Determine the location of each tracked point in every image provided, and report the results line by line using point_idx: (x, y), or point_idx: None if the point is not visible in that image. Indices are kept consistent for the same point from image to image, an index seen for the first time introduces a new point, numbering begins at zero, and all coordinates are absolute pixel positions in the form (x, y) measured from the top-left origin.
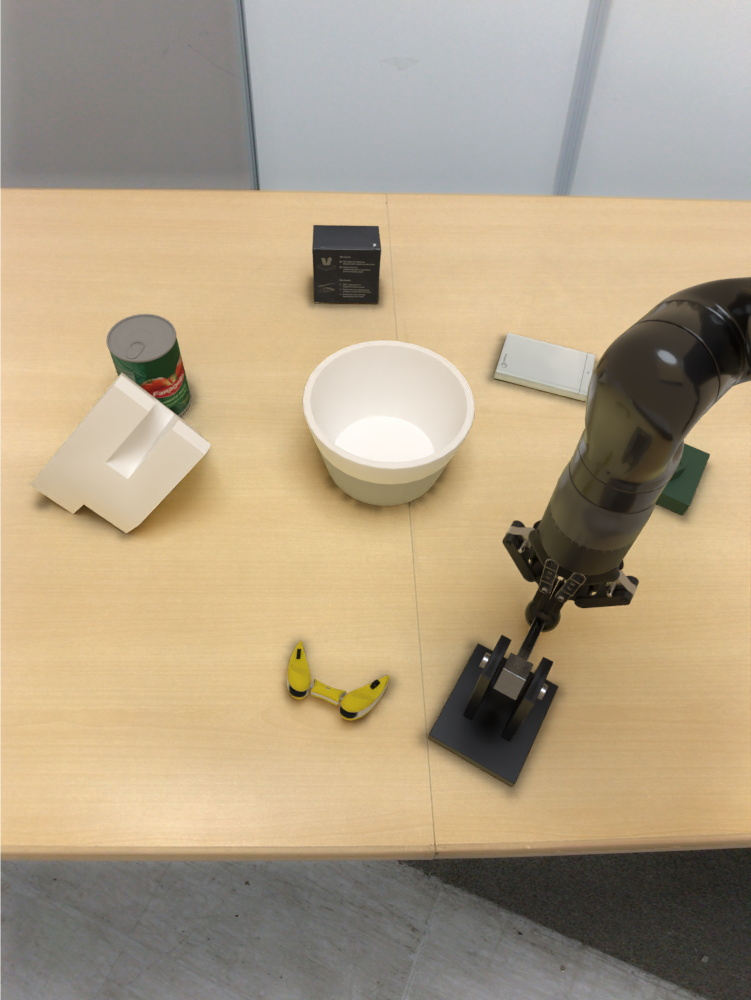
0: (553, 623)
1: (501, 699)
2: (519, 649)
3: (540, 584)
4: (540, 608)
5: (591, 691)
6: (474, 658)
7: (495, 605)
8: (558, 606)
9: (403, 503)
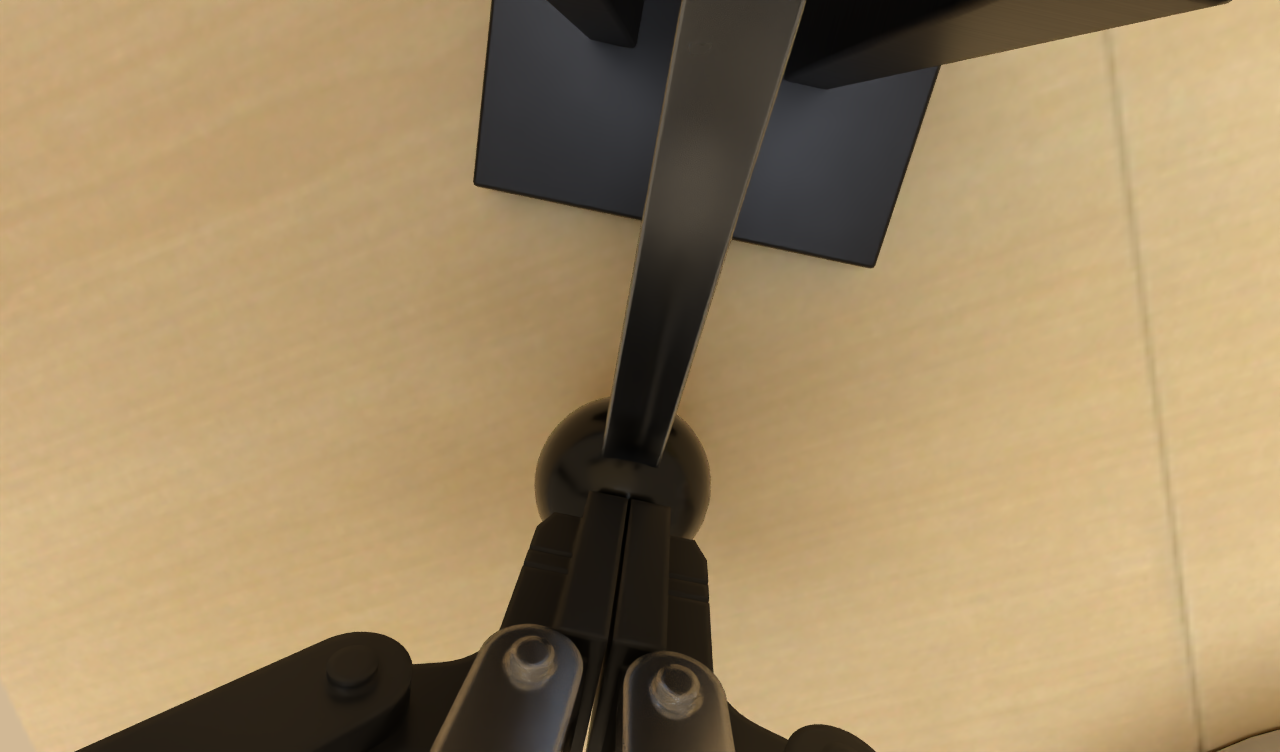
0: (559, 454)
1: None
2: (765, 130)
3: (726, 745)
4: (649, 517)
5: (350, 228)
6: (881, 185)
7: (807, 463)
8: (547, 566)
9: (1230, 747)
